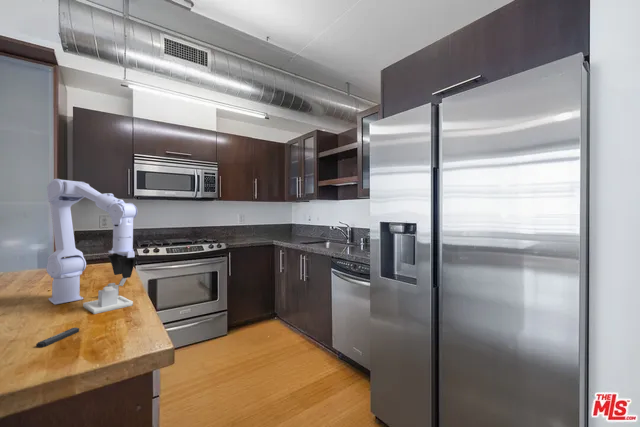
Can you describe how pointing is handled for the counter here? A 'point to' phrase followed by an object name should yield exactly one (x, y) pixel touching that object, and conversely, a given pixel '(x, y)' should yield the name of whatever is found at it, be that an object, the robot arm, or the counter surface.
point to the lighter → (117, 285)
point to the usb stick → (57, 337)
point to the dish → (95, 308)
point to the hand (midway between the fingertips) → (122, 276)
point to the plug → (107, 296)
